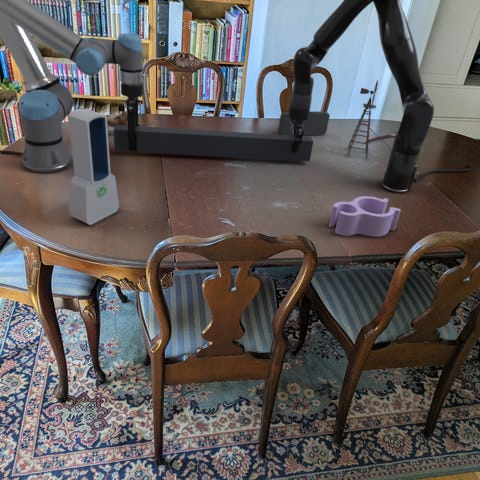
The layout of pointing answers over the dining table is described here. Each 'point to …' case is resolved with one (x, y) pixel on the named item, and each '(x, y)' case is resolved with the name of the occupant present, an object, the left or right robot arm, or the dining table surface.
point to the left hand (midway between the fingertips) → (134, 147)
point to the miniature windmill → (364, 91)
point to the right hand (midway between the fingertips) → (293, 149)
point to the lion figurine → (118, 120)
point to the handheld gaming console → (306, 123)
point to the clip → (364, 217)
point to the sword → (382, 137)
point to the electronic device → (91, 168)
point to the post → (213, 143)
